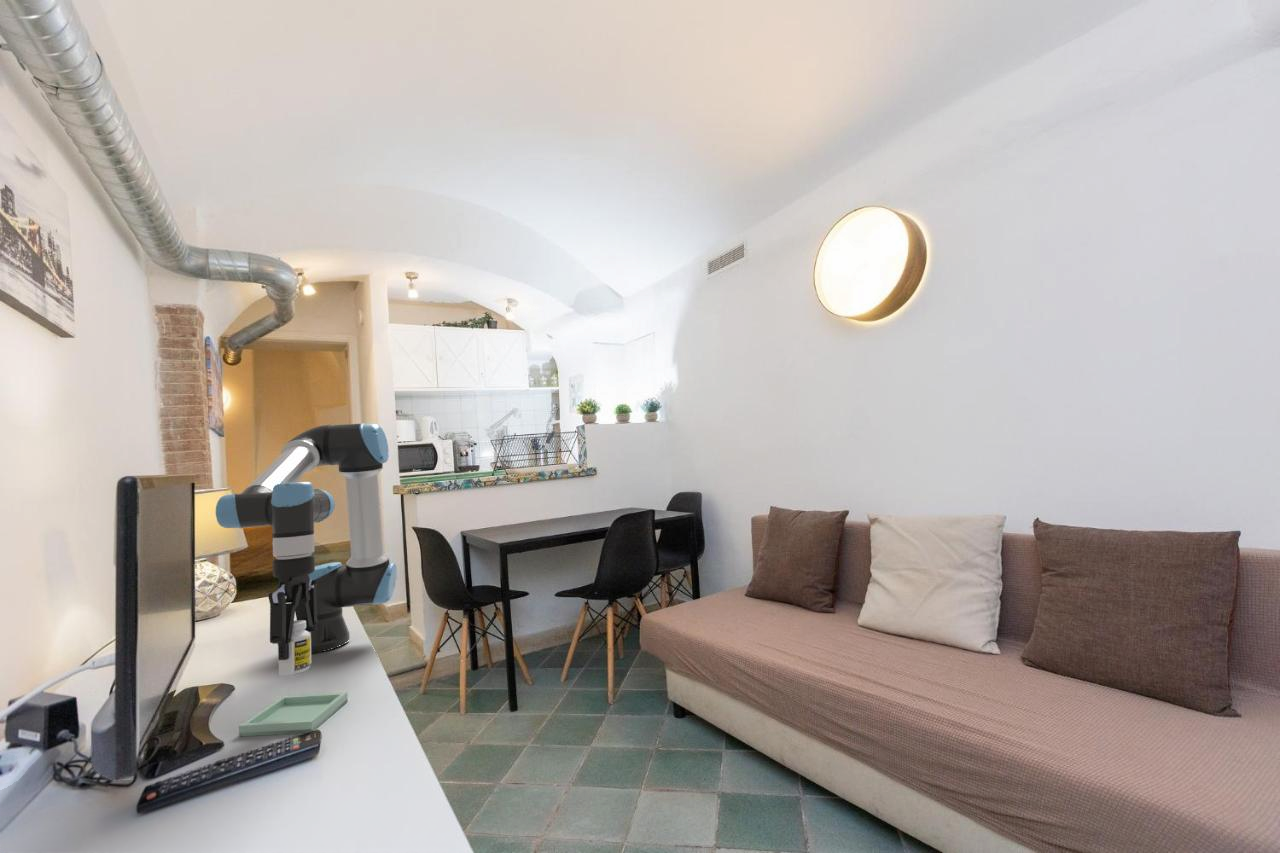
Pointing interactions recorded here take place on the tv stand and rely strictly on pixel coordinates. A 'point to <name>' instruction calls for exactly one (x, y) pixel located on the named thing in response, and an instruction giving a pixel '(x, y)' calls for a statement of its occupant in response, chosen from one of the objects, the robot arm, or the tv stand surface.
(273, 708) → the tray
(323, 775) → the tv stand surface
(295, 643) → the supplement bottle
